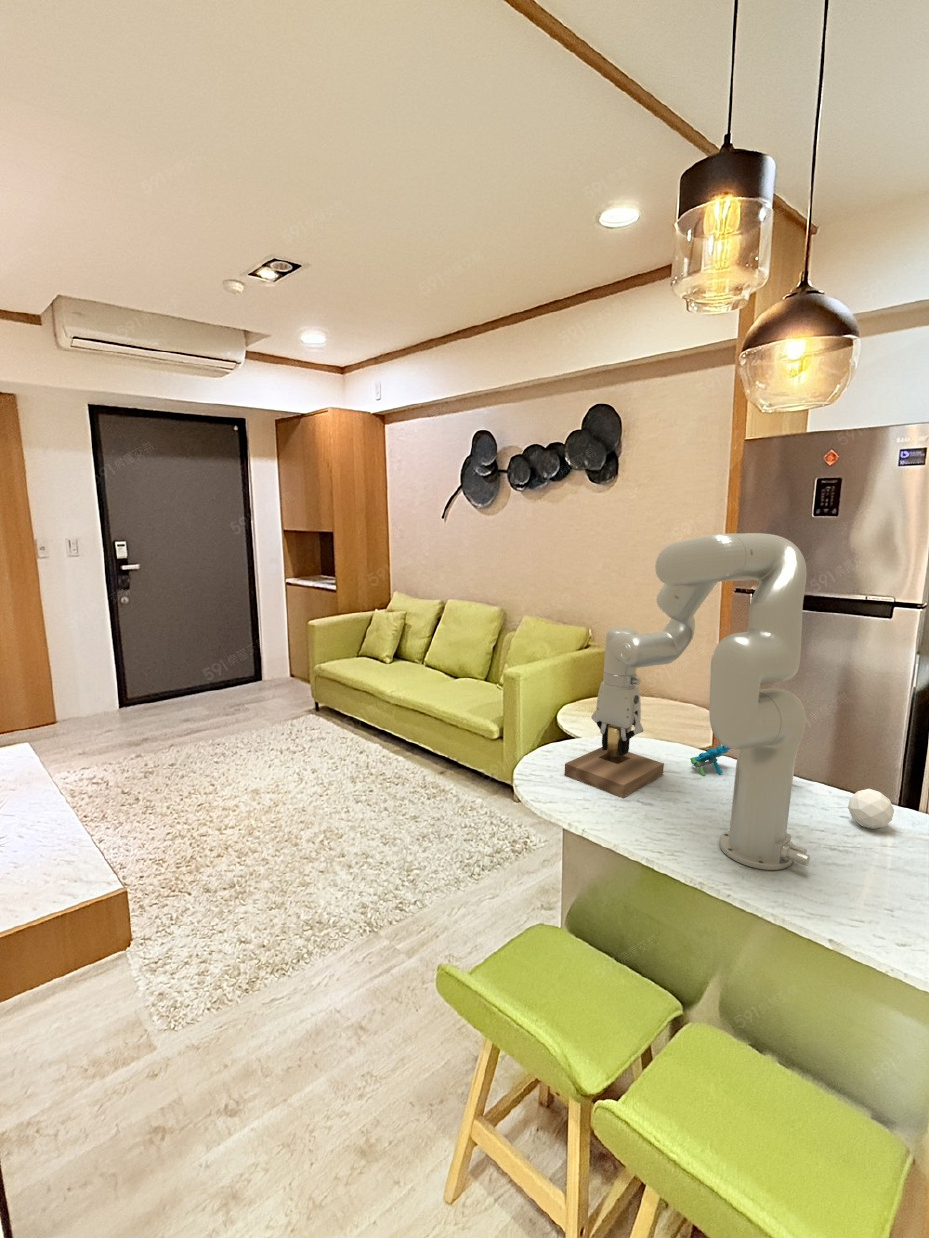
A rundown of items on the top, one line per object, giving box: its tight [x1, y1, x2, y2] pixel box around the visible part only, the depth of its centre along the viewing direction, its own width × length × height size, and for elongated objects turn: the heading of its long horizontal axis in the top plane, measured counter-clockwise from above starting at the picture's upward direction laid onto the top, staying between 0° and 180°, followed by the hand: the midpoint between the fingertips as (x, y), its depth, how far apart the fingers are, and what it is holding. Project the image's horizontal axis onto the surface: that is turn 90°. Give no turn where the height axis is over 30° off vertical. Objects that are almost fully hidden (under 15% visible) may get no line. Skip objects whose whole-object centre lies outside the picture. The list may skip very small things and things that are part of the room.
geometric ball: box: [847, 788, 895, 830], centre depth 128 cm, size 8×8×8 cm
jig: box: [564, 746, 665, 799], centre depth 150 cm, size 16×18×3 cm
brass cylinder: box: [606, 725, 622, 757], centre depth 153 cm, size 4×4×7 cm
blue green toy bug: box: [689, 744, 731, 776], centre depth 153 cm, size 11×6×10 cm
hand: (614, 750), depth 153 cm, fingers closed on brass cylinder, 4 cm apart
